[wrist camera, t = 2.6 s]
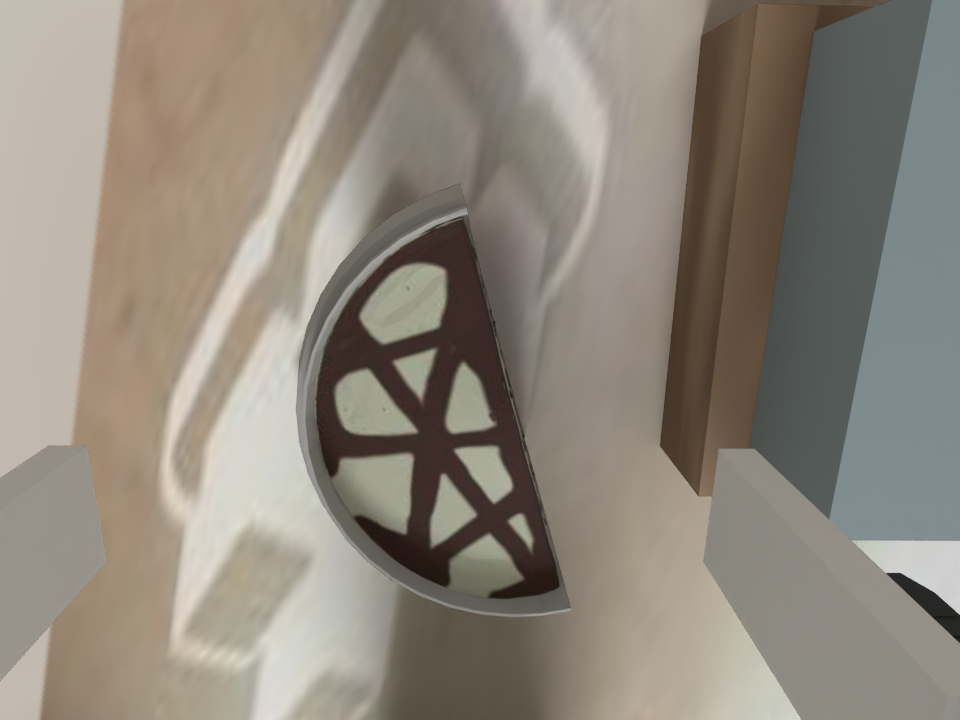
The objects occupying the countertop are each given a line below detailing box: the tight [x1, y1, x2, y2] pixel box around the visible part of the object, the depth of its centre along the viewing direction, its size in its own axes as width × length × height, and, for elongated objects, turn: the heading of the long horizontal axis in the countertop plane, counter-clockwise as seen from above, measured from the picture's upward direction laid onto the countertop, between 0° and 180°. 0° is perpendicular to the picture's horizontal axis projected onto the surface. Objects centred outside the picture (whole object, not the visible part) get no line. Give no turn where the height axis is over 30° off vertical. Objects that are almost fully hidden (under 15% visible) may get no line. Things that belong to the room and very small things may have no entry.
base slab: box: [660, 4, 873, 496], centre depth 24 cm, size 16×16×5 cm
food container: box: [296, 184, 571, 617], centre depth 21 cm, size 12×6×10 cm, turn 14°
